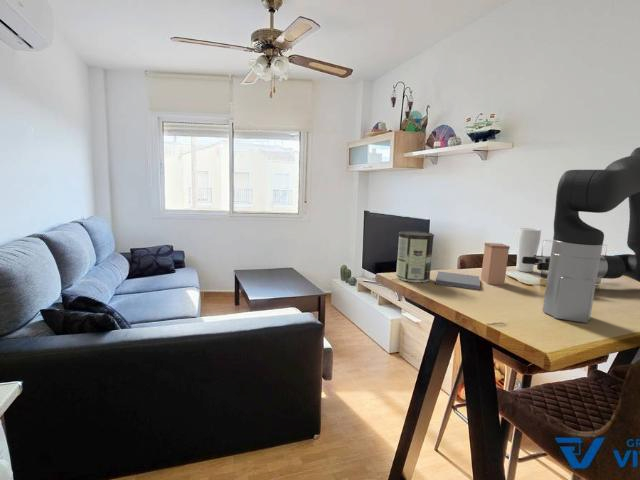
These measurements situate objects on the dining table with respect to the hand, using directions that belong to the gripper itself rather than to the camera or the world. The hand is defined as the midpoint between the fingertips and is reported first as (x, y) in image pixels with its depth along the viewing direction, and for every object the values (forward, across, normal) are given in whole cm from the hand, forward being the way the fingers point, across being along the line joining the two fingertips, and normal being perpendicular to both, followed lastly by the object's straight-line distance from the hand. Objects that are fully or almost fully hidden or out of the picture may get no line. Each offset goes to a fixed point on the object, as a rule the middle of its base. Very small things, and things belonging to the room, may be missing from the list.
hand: (530, 263), depth 110 cm
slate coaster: (+22, +2, +6) cm, 23 cm away
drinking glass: (-9, -18, +7) cm, 22 cm away
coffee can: (+35, +1, +7) cm, 36 cm away
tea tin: (+11, 0, +7) cm, 12 cm away
